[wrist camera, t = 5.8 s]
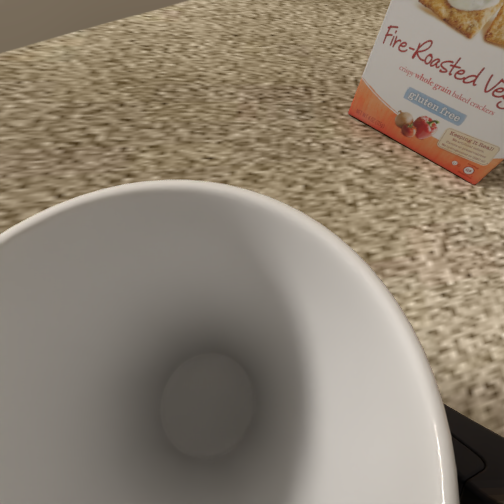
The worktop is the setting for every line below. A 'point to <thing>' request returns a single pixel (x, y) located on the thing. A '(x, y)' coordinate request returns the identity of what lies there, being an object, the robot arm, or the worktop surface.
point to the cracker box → (439, 82)
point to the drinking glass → (207, 359)
